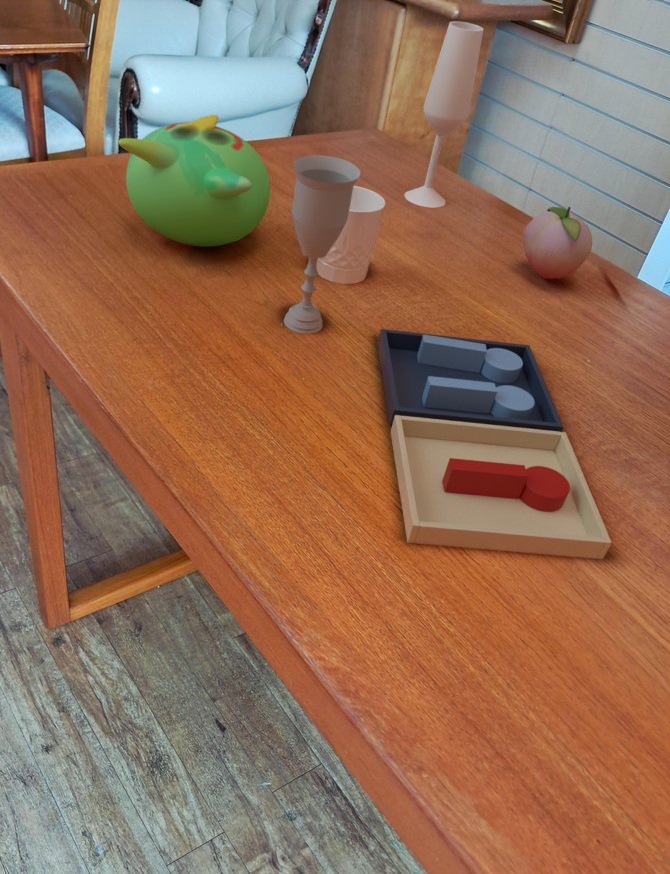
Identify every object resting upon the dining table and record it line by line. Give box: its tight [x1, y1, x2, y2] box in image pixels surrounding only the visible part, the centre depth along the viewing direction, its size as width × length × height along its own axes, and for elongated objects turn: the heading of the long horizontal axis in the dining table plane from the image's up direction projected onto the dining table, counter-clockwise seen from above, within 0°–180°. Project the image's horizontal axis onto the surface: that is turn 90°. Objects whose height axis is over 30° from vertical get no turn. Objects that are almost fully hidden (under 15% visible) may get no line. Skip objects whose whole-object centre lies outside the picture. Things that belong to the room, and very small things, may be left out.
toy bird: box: [117, 114, 271, 248], centre depth 99 cm, size 18×17×15 cm
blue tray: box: [376, 328, 564, 432], centre depth 84 cm, size 17×15×2 cm
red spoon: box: [442, 458, 570, 512], centre depth 72 cm, size 11×4×3 cm, turn 90°
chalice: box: [280, 154, 361, 334], centre depth 85 cm, size 7×7×18 cm
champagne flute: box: [403, 20, 484, 209], centre depth 116 cm, size 7×7×24 cm
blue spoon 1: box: [417, 335, 523, 384], centre depth 87 cm, size 11×4×3 cm, turn 85°
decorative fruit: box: [522, 206, 593, 280], centre depth 105 cm, size 9×8×10 cm
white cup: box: [316, 185, 387, 285], centre depth 98 cm, size 8×8×10 cm
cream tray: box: [390, 415, 613, 560], centre depth 72 cm, size 17×15×2 cm
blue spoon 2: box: [422, 376, 535, 420], centre depth 81 cm, size 11×4×3 cm, turn 90°
